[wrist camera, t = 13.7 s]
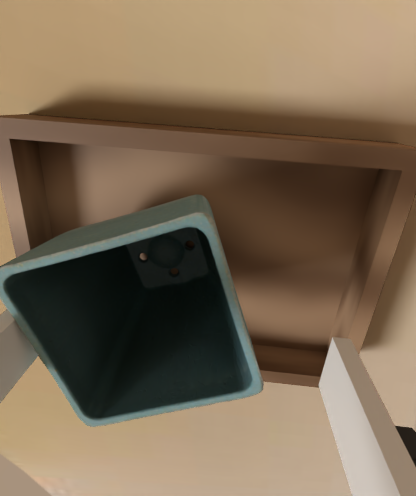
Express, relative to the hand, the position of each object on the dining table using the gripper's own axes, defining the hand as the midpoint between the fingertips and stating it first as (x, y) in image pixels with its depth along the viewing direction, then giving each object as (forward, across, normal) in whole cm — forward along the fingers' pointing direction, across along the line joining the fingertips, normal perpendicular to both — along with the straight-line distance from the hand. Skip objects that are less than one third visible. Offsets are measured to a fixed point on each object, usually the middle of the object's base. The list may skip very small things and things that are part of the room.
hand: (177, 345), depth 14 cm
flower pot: (+8, +2, -1) cm, 9 cm away
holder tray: (+9, 0, 0) cm, 9 cm away
